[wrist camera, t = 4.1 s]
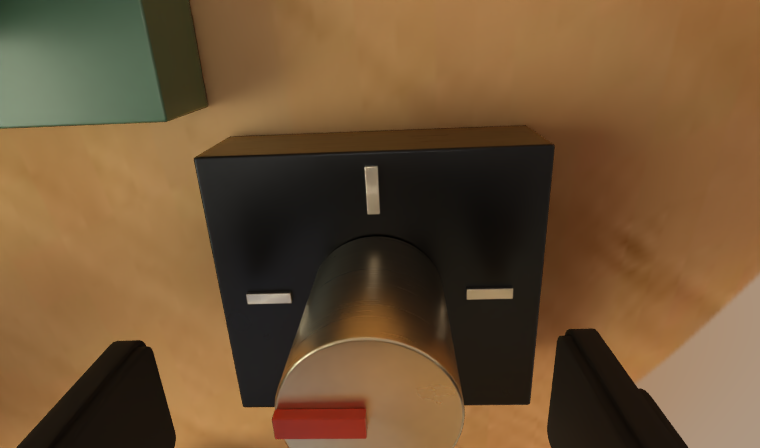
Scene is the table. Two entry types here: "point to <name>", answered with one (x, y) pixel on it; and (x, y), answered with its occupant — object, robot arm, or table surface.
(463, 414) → the dial
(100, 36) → the panel
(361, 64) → the table surface
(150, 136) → the table surface
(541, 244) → the panel
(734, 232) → the table surface
